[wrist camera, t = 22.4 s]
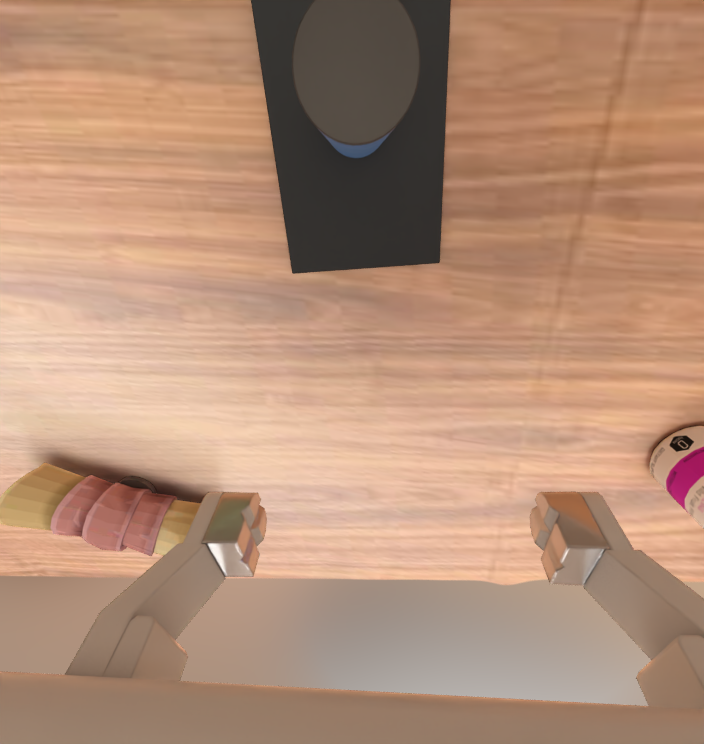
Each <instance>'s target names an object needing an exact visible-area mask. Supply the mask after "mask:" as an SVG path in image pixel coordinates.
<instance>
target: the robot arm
mask: <svg viewBox="0 0 704 744" xmlns="http://www.w3.org/2000/svg"><path fill="white" fill-rule="evenodd" d="M260 501H261V498H260V496H259V494H258V493H240V492H208V493H207V494H206V496H205V497H204V498H203V500H202V503H201V505H200V507H199V509H198V511H197V513H196V516H195V518H194V520H193V522H192V524H191V526H190V529H189V531H188V533H187V535H186V537H185V539H184V542H183V543H178V544H177V545H176V546H175V547H173V548H172V549H171V550H170V551H169V552H168V553H167V554H165V555H164V556H163V557H162V558H161V559H160V560H159V561H157V562H156V563H155V564H154V565H153V566H152V567H151V568H150V569H148V570H147V571H146V572H145V573H144V574H143V575H142V576H140V577H139V578H138V579H137V580H136V581H135V582H134V583H133V584H131V585H130V586H129V587H128V588H127V589H126V590H125V591H124V592H122V593H121V594H120V595H119V596H118V597H117V598H116V599H114V600H113V601H112V602H111V603H110V604H109V605H108V606H106V607H105V608H104V609H103V610H102V611H101V612H100V613H99V615H98V617H97V619H96V620H95V622H94V624H93V625H92V627H91V629H90V631H89V632H88V634H87V636H86V638H85V640H84V641H83V643H82V645H81V647H80V649H79V650H78V652H77V654H76V656H75V657H74V659H73V661H72V663H71V664H70V666H69V668H68V670H67V672H66V673H65V675H59V674H40V673H21V672H3V671H0V744H704V599H703V598H702V597H701V596H700V595H698V594H697V593H696V592H694V591H693V590H692V589H691V588H689V587H688V586H686V585H685V584H684V583H683V582H681V581H680V580H679V579H677V578H676V577H675V576H673V575H672V574H671V573H670V572H668V571H667V570H666V569H664V568H663V567H662V566H660V565H659V564H658V563H656V562H655V561H654V560H652V559H651V558H650V557H649V556H647V555H646V554H645V553H643V552H642V551H641V550H634V549H633V547H632V545H631V544H630V542H629V540H628V539H627V537H626V535H625V534H624V532H623V530H622V529H621V527H620V525H619V524H618V522H617V520H616V519H615V517H614V515H613V514H612V512H611V510H610V508H609V507H608V505H607V503H606V502H605V500H604V498H603V497H602V495H600V494H599V493H598V492H540V493H538V494H537V496H536V499H535V501H536V503H537V506H536V507H535V508H533V509H532V511H531V514H530V528H531V532H532V536H533V539H534V541H535V543H536V544H537V545H538V546H539V547H540V548H541V549H542V550H543V551H544V552H543V555H542V557H541V561H542V563H543V566H544V569H545V572H546V574H547V577H548V580H549V582H550V584H565V585H584V589H586V591H587V592H588V593H589V594H590V595H591V596H592V597H593V598H594V599H595V600H596V601H597V602H598V604H599V605H600V606H601V607H602V608H603V609H604V610H605V611H606V612H607V613H608V614H609V615H610V616H611V617H612V619H613V620H614V621H615V622H616V623H617V624H618V625H619V626H620V627H621V628H622V629H623V630H624V631H625V632H626V633H627V635H628V636H629V637H630V638H631V639H632V640H633V641H634V642H635V643H636V644H637V645H638V646H639V647H640V648H641V650H642V651H643V652H644V653H645V654H646V655H647V656H648V657H649V658H650V659H651V662H649V663H648V664H647V665H646V666H645V667H644V668H643V669H642V670H641V671H640V672H639V673H638V675H637V677H636V679H637V681H638V683H639V685H640V688H641V690H642V692H643V694H644V696H645V699H646V701H647V703H648V705H649V706H636V705H617V704H599V703H598V704H597V703H580V702H579V703H578V702H561V701H560V702H559V701H542V700H523V699H504V698H486V697H485V698H484V697H468V696H449V695H431V694H412V693H394V692H375V691H357V690H356V691H355V690H338V689H337V690H336V689H319V688H299V687H282V686H264V685H263V686H262V685H245V684H225V683H208V682H207V683H206V682H189V681H180V679H181V676H182V673H183V671H184V668H185V664H186V662H187V659H188V656H187V653H186V651H185V650H184V649H183V648H182V647H181V646H180V645H179V644H178V643H177V642H176V639H177V637H178V636H179V635H180V634H181V632H182V631H183V630H184V629H185V628H186V626H187V625H188V624H189V623H190V622H191V620H192V619H193V618H194V617H195V615H196V614H197V613H198V612H199V611H200V609H201V608H202V607H203V606H204V604H205V603H206V602H207V601H208V600H209V598H210V597H211V596H212V595H213V593H214V592H215V591H216V590H217V589H218V587H219V586H220V585H221V584H222V583H223V581H224V580H225V577H253V576H254V572H255V569H256V565H257V561H258V558H259V552H258V549H257V546H258V545H259V544H260V543H261V542H262V541H263V539H264V536H265V532H266V523H267V518H266V512H265V509H264V508H263V507H262V506H260V505H259V504H260Z"/></svg>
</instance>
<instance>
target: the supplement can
mask: <svg viewBox="0 0 704 744" xmlns="http://www.w3.org/2000/svg"><path fill="white" fill-rule="evenodd" d="M649 466H650V474H651V475H652V476H653V477H654V478H655V479H656V481H657V482H658V483H659V484H660V485H661V486H662V487H663V488H664V489H665V490H666V491H667V492H668V493H669V494H670V495H671V496H672V497H673V498H674V499H675V500H676V501H677V502H678V503H679V504H680V505H681V506H682V507H683V508H684V509H685V510H686V511H687V512H688V513H689V514H690V515H691V516H692V517H693V519H694V520H695V521H696V522H697V523H698V524H699V525H700V526H701V527H702V528H703V529H704V426H694V427H689V428H684V429H682V430H680V431H677V432H675V433H673V434H671V435H670V436H668V437H667V438H665V439H664V440H663V441H661V442H660V444H659V445H658V446H657V447H656V448H655V449H654V451H653V454H652V456H651V461H650V464H649Z"/></svg>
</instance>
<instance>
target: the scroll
mask: <svg viewBox="0 0 704 744" xmlns="http://www.w3.org/2000/svg"><path fill="white" fill-rule="evenodd" d="M200 505H201V503H194V502H187V501H180V500H177V497H176V496H173V495H164V494H156V489H155V488H154V486H153V485H152V484H151V483H150V482H148V481H147V480H145V479H142V478H140V477H134V476H131V477H125V478H123V479H122V480H120V482H119V483H115V484H113V483H110V482H108V481H105V480H103V479H100V478H98V477H95V476H93V475H90V476H88V477H84V476H81V475H78V474H75V473H73V472H70V471H67V470H64V469H61V468H59V467H56V466H53V465H50V464H48V463H45V462H44V463H43V464H42V465H41V466H40V467H38V468H37V469H35V470H33V471H31V472H29V473H27V474H26V475H25V476H23V477H22V478H20V479H19V480H18V481H16V482H15V483H14V484H13V485H12V486H11V487H9V488H8V489H7V490H6V491H5V492H4V493H3V494H2V496H1V497H0V524H3V525H7V526H15V527H24V528H33V529H42V530H51V531H52V532H53V534H57V535H66V536H80V537H82V538H83V539H84V540H85V541H86V542H88V543H90V544H92V545H94V546H96V547H98V548H100V549H102V550H113V551H122V550H124V549H126V547H129V548H131V549H134V550H136V551H139V552H141V553H144V554H147V555H149V556H152V554H153V552H154V553H157V554H160V555H163V556H164V555H165V554H167V553H168V552H169V551H170V550H171V549H172V548H173V547H175V546H176V545H177V544H178V543H183V542H184V539H185V537H186V535H187V533H188V531H189V529H190V526H191V524H192V522H193V520H194V518H195V516H196V513H197V511H198V509H199V507H200Z"/></svg>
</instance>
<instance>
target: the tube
mask: <svg viewBox="0 0 704 744" xmlns="http://www.w3.org/2000/svg"><path fill="white" fill-rule="evenodd" d="M292 71H293V80H294V85H295V89H296V92H297V96H298V98H299V101H300V103H301V106H302V107H303V109H304V111H305V113H306V115H307V116H308V117H309V119H310V120H311V122H312V123H313V124H314V125H315V126H316V127H317V128H318V130H319V131H320V132H321V133H322V134H323V135H324V136H325V138H326V139H327V140H328V141H329V142H330V143H331V144H332V146H333V147H334V148H335V149H336V150H337V151H338V152H340V153H341V154H343V155H345V156H347V157H350V158H362V157H365V156H368V155H370V154H371V153H373V152H374V151H375V150H376V149H377V148H378V147H379V146H380V145H381V144H382V143H383V141H384V140H385V139H386V138H387V137H388V135H389V134H390V133H391V132H392V131H393V129H394V128H395V127H396V126H397V125H398V123H399V122H400V121H401V120H402V118H403V117H404V116H405V114H406V113H407V111H408V109H409V107H410V105H411V103H412V101H413V98H414V96H415V93H416V89H417V85H418V80H419V74H420V49H419V42H418V38H417V34H416V30H415V27H414V25H413V22H412V20H411V18H410V16H409V14H408V12H407V10H406V9H405V8H404V6H403V5H402V3H401V2H400V1H399V0H314V1H313V2H312V3H311V5H310V6H309V8H308V9H307V11H306V12H305V14H304V16H303V18H302V20H301V22H300V24H299V27H298V30H297V32H296V36H295V40H294V46H293V53H292Z"/></svg>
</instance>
